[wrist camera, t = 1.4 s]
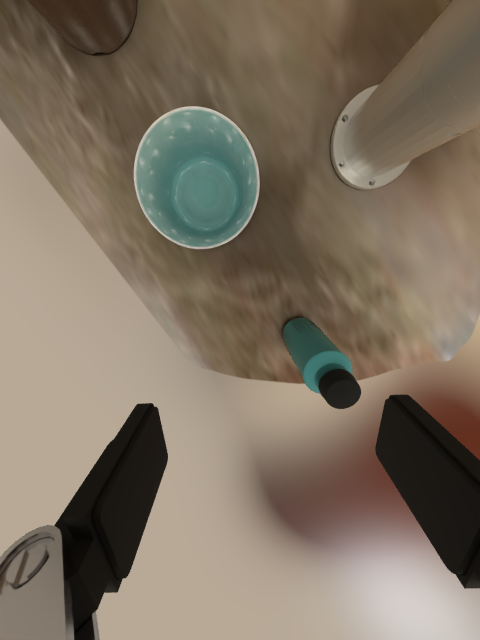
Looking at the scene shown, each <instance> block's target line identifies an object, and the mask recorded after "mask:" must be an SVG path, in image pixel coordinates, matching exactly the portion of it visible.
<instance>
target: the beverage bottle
mask: <svg viewBox="0 0 480 640" xmlns="http://www.w3.org/2000/svg"><path fill="white" fill-rule="evenodd" d="M282 337H283V340H284V342H285V344H286V345H285V346H287V348H288V350H289V352H290V354H291V356H292V359H293V361H294V362H295V364H296V365H297V367H298V369H299V371H300V373H301V375H302V377H303V380H304V382H305V384H306V386H307V387H308V388H309V389H311V390H312V391H314V392H316V393H320V394H321V395H322V396H323V398H325V400H326V401H327V403H328V404H329V405H330V406H332V407H334V408H337V409H345V408H348V407H351V406H353V405H354V404H355V403H356V402H357V401H358V400H359V398H360V395H361V389H360V386H359V384H358V383H357V381H356V380H355V378H354V377H353V375H352V364H351V362H350V360H349V359H348V357H347V356H346V355H345V354H343V353H342V352H341V351H340V350H339V349H338V348H337V347H336V346H335V345H334V344H333V343H332V342H331V341H330V340H329V339H328V338H327V337H326V336H325V335H324V333H322V332H321V331H320V330H319V329H318V328H317V326H316V325H315V324H314V323H313V322H312V321H311V320H308V319H305V318H296V319H293V320H291V321H289V322H288V323H287V324H286V326H285V327H284V329H283V336H282Z"/></svg>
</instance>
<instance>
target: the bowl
mask: <svg viewBox="0 0 480 640" xmlns="http://www.w3.org/2000/svg"><path fill="white" fill-rule="evenodd" d="M134 184H135V190H136V194H137V198H138V201H139V204H140V206H141V208H142V210H143V212H144V214H145V216H146V217H147V219H148V220H149V222H150V223H151V224H152V225H153V227H154V228H155V229H156V230H157V231H158V232H159V233H161V234H162V235H163V236H164V237H166V238H167V239H169V240H170V241H172V242H174V243H176V244H178V245H180V246H183V247H187V248H191V249H210V248H215V247H218V246H221V245H223V244H225V243H227V242H229V241H231V240H232V239H234V238H235V237H236V236H237V235H238V234H239V233H240V232H241V231H242V230H243V229H244V228H245V227H246V225H247V224H248V222H249V221H250V219H251V217H252V215H253V213H254V210H255V208H256V205H257V201H258V196H259V187H260V178H259V169H258V164H257V160H256V156H255V154H254V151H253V149H252V147H251V145H250V143H249V141H248V139H247V138H246V136H245V135H244V133H243V132H242V131H241V130H240V128H239V127H238V126H237V125H236V124H235V123H234V122H232V121H231V120H230V119H229V118H227V117H226V116H224V115H222V114H221V113H219V112H217V111H214V110H211V109H208V108H205V107H196V106H190V107H181V108H178V109H175V110H172V111H170V112H168V113H166V114H164V115H163V116H161V117H160V118H158V119H157V120H156V121H155V122H154V123H153V124H152V125H151V126H150V127H149V129H148V130H147V132H146V133H145V135H144V136H143V138H142V140H141V142H140V144H139V147H138V150H137V153H136V158H135V163H134Z"/></svg>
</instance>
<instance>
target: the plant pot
mask: <svg viewBox="0 0 480 640" xmlns="http://www.w3.org/2000/svg"><path fill="white" fill-rule="evenodd" d="M27 1H28V2H29V3H30V4H31V5H32V6H33V7H34V8H35V9H36V10H37V11H38V12H39V13H40V14H41V15H42V16H43V17H44V18H45V19H46V20H47V21H48V22H49V24H50V25H51V26H52V27H53V28H54V29H55V30H56V31H57V32H58V33H59V34H60V35H61V36H62V37H63V38H64V39H65V40H66V41H67V42H68V43H70V44H71V45H72V46H74V47H75V48H77V49H78V50H80V51H82V52H85V53H87V54H92V55H94V54H95V53H111V52H113V51H115V50H116V49H118V48H119V47H120V46H121V45H122V44H123V43H124V41H125V40H126V39H127V37H128V35H129V34H130V32H131V29H132V27H133V24H134V20H135V16H136V9H137V0H27Z"/></svg>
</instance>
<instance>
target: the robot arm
mask: <svg viewBox="0 0 480 640" xmlns="http://www.w3.org/2000/svg"><path fill="white" fill-rule="evenodd" d="M342 120H343V121H344V122H343V121H342ZM478 126H480V0H453V1H452V2H451V3H450V4H449V5H448V6H447V7H446V9H445V10H444V11H443V12H442V13H441V14H440V16H439V17H438V18H437V19H436V20H435V21H434V22H433V24H432V25H431V26H430V27H429V28H428V29H427V30H426V32H425V33H424V34H423V35H422V36H421V37H420V39H419V40H418V41H417V42H416V43H415V44H414V45H413V47H412V48H411V49H410V50H409V51H408V52H407V54H406V55H405V56H404V57H403V58H402V59H401V60H400V62H399V63H398V64H397V65H396V66H395V67H394V68H393V70H392V71H391V72H390V73H389V74H388V75H387V77H386V78H385V79H384V80H383V81H382V82H381V83H380V84H379V85H374V86H372V87H369V88H366V89H365V90H363V91H362V92H360V93H358V94H357V95H356V96H355V97H354V98H353V99H352V100H351V101H350V102H349V103H348V104H347V106H346V107H345V108H344V110H343V111H342V113H341V114H340V116H339V117H338V119H337V122H336V124H335V126H334V129H333V133H332V137H331V145H330V149H331V159H332V164H333V166H334V169H335V171H336V173H337V174H338V176H339V177H340V179H341V180H342V181H343V182H345V183H346V184H347V185H349V186H351V187H353V188H356V189H359V190H371V189H376V188H379V187H382V186H384V185H386V184H388V183H390V182H391V181H393V180H394V179H396V178H397V177H398V176H399V175H400V174H401V173H402V172H403V171H404V170H405V168H406V167H407V166H408V165H409V163H410V161H411V160H412V159H414V158H416V157H418V156H420V155H422V154H424V153H426V152H428V151H430V150H432V149H434V148H436V147H438V146H440V145H442V144H444V143H446V142H448V141H450V140H452V139H454V138H456V137H458V136H460V135H462V134H464V133H466V132H468V131H470V130H472V129H474V128H476V127H478ZM339 164H340V165H341V167H340V166H339ZM369 183H370V185H369ZM376 455H377V457H378V459H379V461H380V462H381V464H382V465H383V467H384V468H385V470H386V472H387V473H388V475H389V477H390V478H391V480H392V481H393V483H394V484H395V486H396V488H397V489H398V491H399V492H400V494H401V496H402V497H403V499H404V500H405V502H406V504H407V505H408V506H409V508H410V510H411V512H412V513H413V515H414V516H415V518H416V520H417V521H418V523H419V524H420V526H421V527H422V529H423V531H424V532H425V534H426V535H427V537H428V539H429V540H430V542H431V543H432V545H433V546H434V548H435V550H436V551H437V553H438V554H439V556H440V558H441V559H442V561H443V563H444V564H445V566H446V567H447V568H448V569H449V570H450V571H451V572H452V573H454V574H456V576H457V577H458V579H459V580H460V582H461V584H462V585H463V587H464V588H480V460H479V459H478V458H476V457H475V456H474V455H473V454H472V453H471V452H470V451H469V450H468V449H467V448H465V446H463V445H462V444H461V443H460V442H459V441H458V440H457V439H456V438H455V437H453V435H451V434H450V433H449V432H448V431H447V430H446V429H445V428H444V427H443V426H441V424H439V423H438V422H437V421H436V420H435V419H434V418H433V417H432V416H431V415H430V414H428V412H426V411H425V410H424V409H423V408H422V407H421V406H420V405H419V404H418V403H417V402H416V401H414V400H413V399H412V398H411V397H410V396H409V395H390V396H389V399H386V400H385V404H384V409H383V414H382V419H381V424H380V428H379V434H378V438H377V443H376ZM167 460H168V453H167V449H166V444H165V440H164V435H163V430H162V425H161V421H160V416H159V411H158V408H157V407H154V405H153V404H152V403H148V404H147V403H146V404H137V405H136V406H135V408H134V409H133V411H132V413H131V414H130V416H129V417H128V419H127V420H126V422H125V423H124V425H123V426H122V428H121V429H120V431H119V432H118V434H117V436H116V437H115V439H114V440H112V441H111V442H110V443H109V444H108V446H107V447H106V449H105V450H104V452H103V453H102V455H101V456H100V458H99V459H98V461H97V462H96V464H95V465H94V467H93V469H92V470H91V471H90V473H89V474H88V476H87V477H86V479H85V480H84V482H83V483H82V485H81V486H80V488H79V489H78V491H77V492H76V494H75V495H74V497H73V498H72V500H71V501H70V503H69V505H68V506H67V507H66V509H65V510H64V512H63V513H62V515H61V516H60V518H59V519H58V521H57V522H56V524H55V525H54V526H51V525H46V526H43V527H39V528H36V529H35V530H32V531H31V532H29V533H27V534H25V535H24V536H23V537H22V538H20V539H19V540H17V541H16V542H15V543H14V544H13V545H11V546H10V547H9V548H8V550H6V551H5V552H4V553H3V555H2V556H1V557H0V640H100V639H99V631H98V623H97V616H96V610H97V609H98V607H99V604H100V602H101V599H102V596H103V594H104V592H105V593H106V592H107V593H109V592H118V590H119V587H120V584H121V582H122V579H123V578H126V577H127V576H128V574H129V572H130V570H131V567H132V564H133V561H134V559H135V556H136V553H137V550H138V547H139V544H140V541H141V538H142V535H143V532H144V529H145V526H146V523H147V520H148V517H149V514H150V512H151V509H152V506H153V503H154V500H155V497H156V494H157V491H158V488H159V485H160V482H161V479H162V476H163V473H164V470H165V468H166V465H167Z"/></svg>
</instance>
